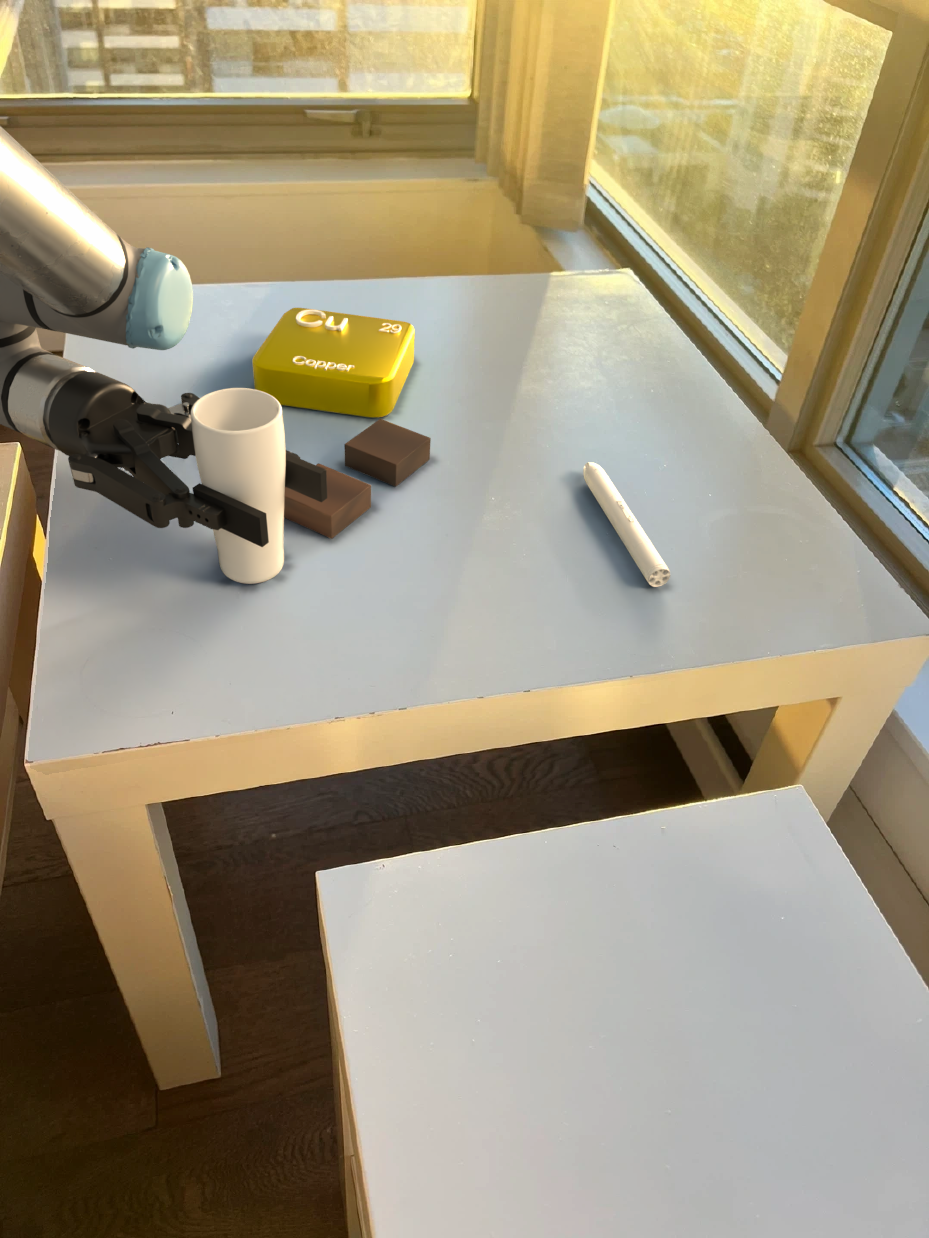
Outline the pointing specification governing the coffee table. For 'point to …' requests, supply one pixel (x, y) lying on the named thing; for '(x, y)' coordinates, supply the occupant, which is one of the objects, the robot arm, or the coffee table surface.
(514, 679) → the coffee table surface
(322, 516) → the walnut block near
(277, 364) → the element tile
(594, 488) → the marker
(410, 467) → the walnut block far
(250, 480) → the drinking glass
